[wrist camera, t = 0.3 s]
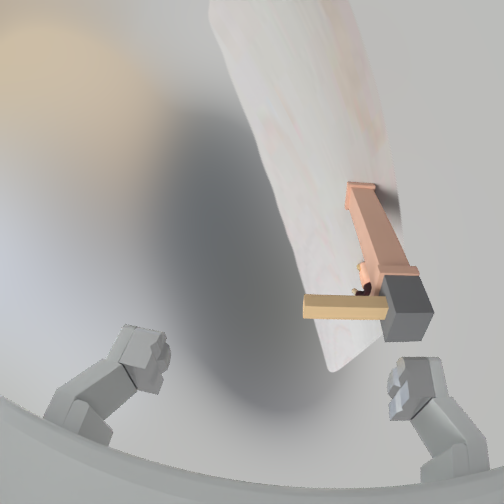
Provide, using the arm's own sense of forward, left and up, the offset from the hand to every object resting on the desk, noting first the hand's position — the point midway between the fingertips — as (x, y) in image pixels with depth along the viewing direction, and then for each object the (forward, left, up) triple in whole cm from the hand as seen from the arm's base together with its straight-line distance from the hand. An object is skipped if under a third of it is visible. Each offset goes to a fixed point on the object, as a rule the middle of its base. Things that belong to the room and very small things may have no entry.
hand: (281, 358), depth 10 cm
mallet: (+15, +9, -21) cm, 27 cm away
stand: (+15, +13, -47) cm, 51 cm away
